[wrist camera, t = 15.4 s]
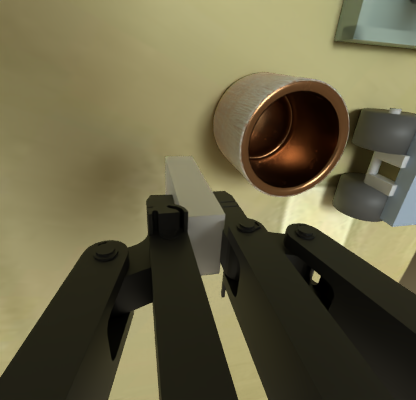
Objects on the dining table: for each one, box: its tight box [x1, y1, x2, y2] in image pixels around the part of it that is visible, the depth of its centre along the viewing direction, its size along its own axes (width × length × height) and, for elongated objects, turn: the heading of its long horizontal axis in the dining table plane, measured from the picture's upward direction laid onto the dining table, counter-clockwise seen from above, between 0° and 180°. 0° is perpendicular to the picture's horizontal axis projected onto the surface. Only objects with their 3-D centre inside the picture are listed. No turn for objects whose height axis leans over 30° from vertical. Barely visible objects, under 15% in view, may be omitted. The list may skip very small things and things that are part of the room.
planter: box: [213, 72, 349, 197], centre depth 28 cm, size 11×11×10 cm
